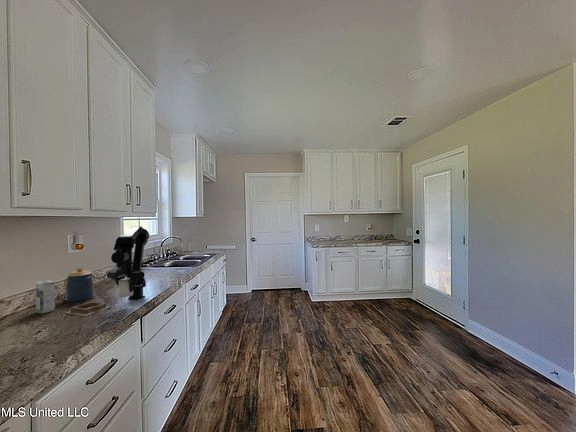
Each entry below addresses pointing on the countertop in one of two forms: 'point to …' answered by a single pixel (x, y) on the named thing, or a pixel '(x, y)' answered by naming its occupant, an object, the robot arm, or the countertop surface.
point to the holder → (88, 309)
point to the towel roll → (124, 288)
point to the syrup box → (45, 296)
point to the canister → (79, 286)
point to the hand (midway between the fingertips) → (125, 291)
